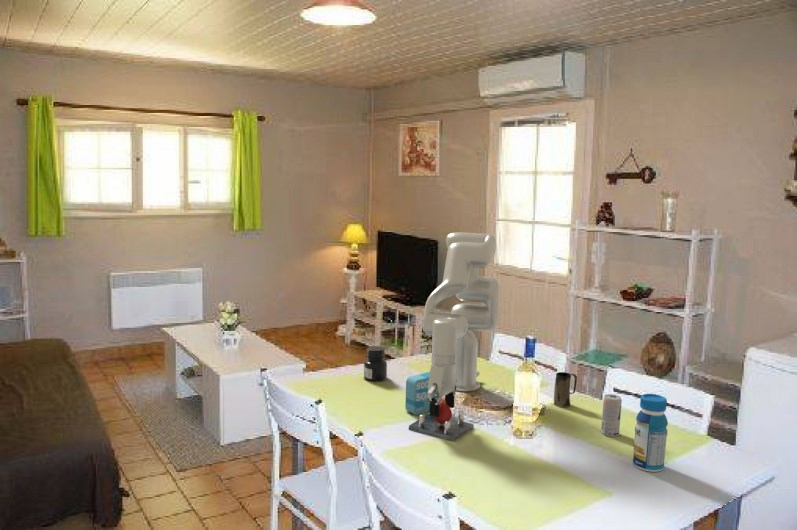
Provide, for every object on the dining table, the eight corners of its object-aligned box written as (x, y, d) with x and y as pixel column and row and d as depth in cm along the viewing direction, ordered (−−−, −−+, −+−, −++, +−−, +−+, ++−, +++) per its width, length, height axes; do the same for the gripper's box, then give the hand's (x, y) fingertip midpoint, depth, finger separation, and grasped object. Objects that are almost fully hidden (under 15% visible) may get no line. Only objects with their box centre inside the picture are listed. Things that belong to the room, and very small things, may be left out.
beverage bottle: (661, 475, 177) (667, 405, 174) (628, 467, 181) (634, 398, 178) (666, 464, 184) (672, 396, 181) (635, 457, 188) (641, 390, 186)
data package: (413, 415, 216) (414, 380, 214) (404, 411, 219) (405, 377, 218) (440, 408, 224) (441, 374, 222) (431, 404, 227) (432, 370, 225)
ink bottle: (363, 374, 258) (363, 345, 256) (385, 374, 259) (386, 345, 257) (364, 382, 248) (365, 351, 246) (387, 382, 249) (388, 351, 247)
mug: (550, 404, 230) (552, 371, 228) (559, 400, 234) (561, 368, 232) (569, 410, 224) (571, 376, 222) (578, 407, 228) (580, 373, 226)
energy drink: (620, 432, 206) (622, 395, 204) (617, 438, 201) (620, 401, 200) (602, 429, 208) (604, 393, 207) (599, 435, 204) (602, 398, 202)
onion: (438, 430, 202) (440, 406, 200) (428, 421, 207) (430, 398, 205) (454, 427, 204) (456, 403, 203) (444, 418, 209) (446, 395, 208)
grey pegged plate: (429, 416, 215) (430, 402, 215) (473, 427, 207) (474, 413, 206) (408, 429, 205) (409, 414, 204) (454, 441, 196) (454, 426, 195)
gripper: (446, 350, 212) (444, 401, 214) (418, 363, 197) (417, 417, 200) (467, 354, 208) (465, 406, 210) (440, 367, 193) (438, 422, 196)
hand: (441, 411), depth 205 cm, fingers open, 9 cm apart
